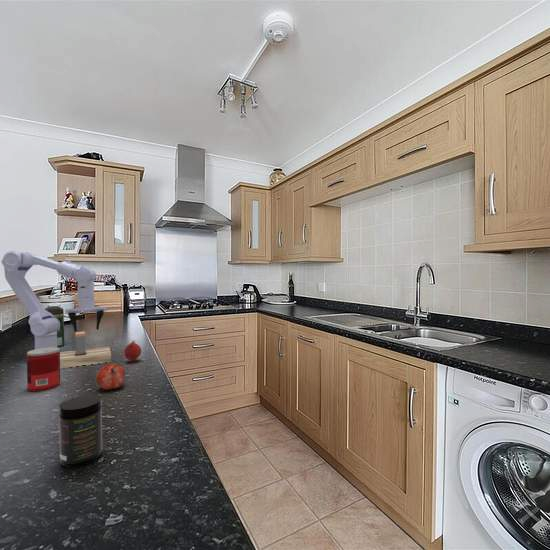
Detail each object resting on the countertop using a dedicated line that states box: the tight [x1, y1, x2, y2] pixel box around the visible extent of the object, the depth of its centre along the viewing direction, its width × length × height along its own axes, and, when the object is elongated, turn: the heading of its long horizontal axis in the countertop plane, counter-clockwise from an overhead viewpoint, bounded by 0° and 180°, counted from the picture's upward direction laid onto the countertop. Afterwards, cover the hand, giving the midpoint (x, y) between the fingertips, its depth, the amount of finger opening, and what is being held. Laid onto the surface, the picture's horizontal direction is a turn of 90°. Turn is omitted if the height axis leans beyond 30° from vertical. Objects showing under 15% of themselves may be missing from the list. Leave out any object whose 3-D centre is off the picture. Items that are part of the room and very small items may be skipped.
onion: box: [123, 340, 142, 362], centre depth 118 cm, size 6×6×8 cm
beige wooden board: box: [60, 346, 112, 370], centre depth 119 cm, size 14×20×3 cm
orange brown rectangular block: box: [74, 330, 86, 354], centre depth 119 cm, size 5×3×7 cm, turn 31°
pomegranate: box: [96, 363, 126, 391], centre depth 91 cm, size 7×7×10 cm
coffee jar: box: [44, 305, 65, 348], centre depth 145 cm, size 10×8×19 cm
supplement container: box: [58, 394, 103, 468], centre depth 57 cm, size 7×7×10 cm
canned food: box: [26, 347, 61, 392], centre depth 93 cm, size 8×8×11 cm
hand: (86, 330), depth 127 cm, fingers open, 7 cm apart
